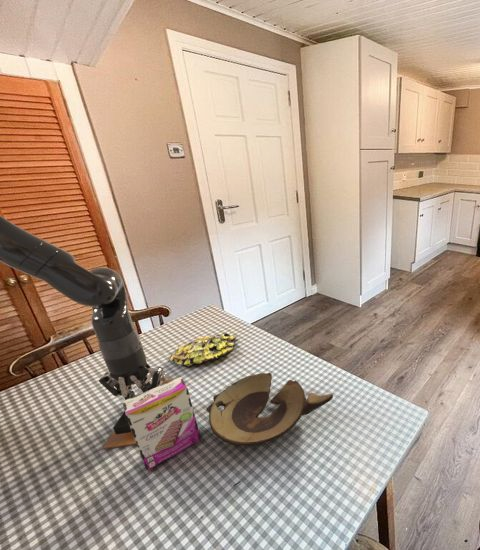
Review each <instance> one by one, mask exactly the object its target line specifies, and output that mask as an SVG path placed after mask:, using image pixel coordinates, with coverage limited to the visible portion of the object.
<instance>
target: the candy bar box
mask: <svg viewBox="0 0 480 550" xmlns="http://www.w3.org/2000/svg"><path fill="white" fill-rule="evenodd" d="M174 379H175V380H172V381H170V382H168V383H165V384H163V385H161V386H158V387H156V388H153V389H151V390H149V391H146V392H144V393H141V394H139V395H138V394H137V395H135V396H134V397H132V398H130V399H127V400H125V399H124V400H123V401H121V403H122V407H123V411H125V414H126V417H127V420H128V422H129V425H130V428H131V430H132V433H133V436H134V439H135V441H136V444H135V445H136V446H137V450H138V451H139V454H140V457H141V460H142V462H143V465H144V468H145V470H146V471H147V472H148V471H150V470H152V469H154V468H156V467H157V466H159V465H161V464H162V463H164V462H166V461H167V460H169V459H171V458H173V457H175V456H176V455H178V454H180V453H181V452H183V451H185V450H187V449H189V448H190V447H192V446H194V445H195V444H197V443H199V442H201V441H202V437H201V434H200V429H199V425H198V422H197V418H196V414H195V411H194V407H193V403H192V400H191V396H190V392H189V388H188V386H187V384H186V382H185V380H184V379H183V377H182V376H179V377H177V379H176V378H174Z"/></svg>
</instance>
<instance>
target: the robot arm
mask: <svg viewBox="0 0 480 550" xmlns="http://www.w3.org/2000/svg"><path fill="white" fill-rule="evenodd" d="M76 261H77V260H76V257H75V256H74V255H73V254H71V253H70V252H68V251H66V250H65V249H62V248H61V247H59V246H57V245H55V244H52V243H51V242H48V241H47V240H45V239H43V238H40V237H39V236H36V235H35V234H33V233H31V232H30V231H27V230H25V229H23V228H22V227H20V226H18V225H16V224H15V223H13V222H12V221H10V220H8V219H7V218H6V217H3V216H2V215H0V262H1V263H2V264H4V265H6V266H8V267H10V268H13V269H14V270H17V271H19V272H22V273H23V274H26V275H28V276H31V277H33V278H35V279H38V280H40V281H42V282H45V283H47V285H49V286H50V287H51V288H52V289H55V291H57V292H59V293H61V295H63V296H64V297H66V298H67V299H69V300H71V301H73V302H75V303H77V304H79V305H81V306H85V307H89V308H91V309H92V314H91V319H90V320H91V326H92V329H93V331H94V334H95V337H96V339H97V343H98V349H99V351H100V353H101V355H102V359H103V361H104V363H105V366H106V368H107V370H108V372H104V374H103V375H102V376H101V377H100V378H99V380H98V382H99V383H100V384H101V386H103V387H104V388H105V389H106V390H107V391H108V392H109V393H110V394H111V395H113V396H114V397H118V396H122V398H124V401H125V400H127V399H130V398H132V397H134V396H136V394H135V391H134V390H133V385H135V387H137V389H140V390H142V391H143V393H144V392H146V391H149V390H151V389H153V388H156V387H158V386H159V384H160V380H161V376H162V372H164V371H163V370H164V368H163V367H162V366H158V367H157V368H155V367H151V365H150V364H148V363H147V356H146V353H145V350H144V347H143V344H142V340H141V338H140V336H139V333H138V332H137V330H136V328H135V325H134V322H133V318H132V316H131V314H130V312H129V307H128V300H127V299H128V298H127V293H126V292H127V291H126V288H125V283H124V281H123V279H122V276H121V275H120V274H119V273H118V272H117V271H116V270H114V269H112V268H109V267H104V266H101V267H100V266H99V267H95V268H92V269H90V270H88V269H87V268H84V267H82V266H81V265H79V264H78V263H77V262H76ZM149 374H151V378H153V379H152V383H151V382H150V378H149Z"/></svg>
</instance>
